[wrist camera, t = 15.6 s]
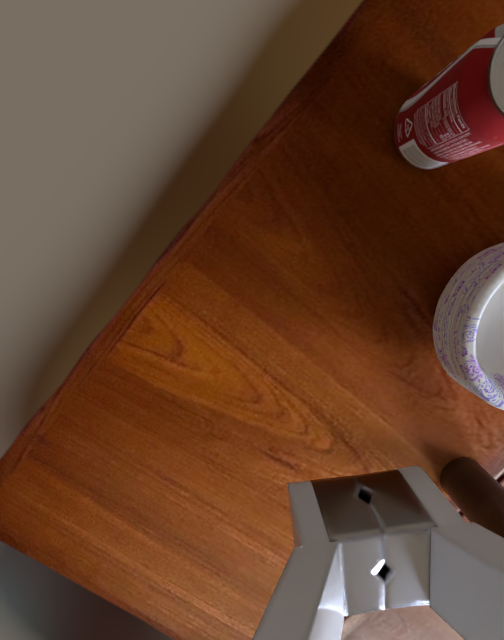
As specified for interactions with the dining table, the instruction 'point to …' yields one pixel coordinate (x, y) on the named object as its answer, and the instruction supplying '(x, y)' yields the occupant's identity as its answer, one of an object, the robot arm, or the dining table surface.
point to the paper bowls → (474, 326)
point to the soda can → (456, 108)
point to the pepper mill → (475, 493)
